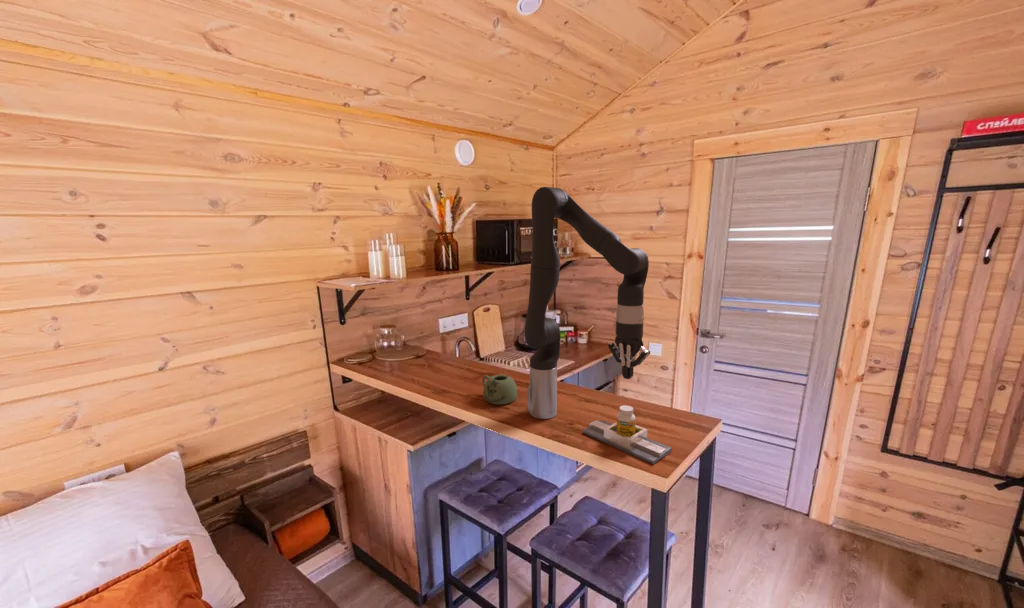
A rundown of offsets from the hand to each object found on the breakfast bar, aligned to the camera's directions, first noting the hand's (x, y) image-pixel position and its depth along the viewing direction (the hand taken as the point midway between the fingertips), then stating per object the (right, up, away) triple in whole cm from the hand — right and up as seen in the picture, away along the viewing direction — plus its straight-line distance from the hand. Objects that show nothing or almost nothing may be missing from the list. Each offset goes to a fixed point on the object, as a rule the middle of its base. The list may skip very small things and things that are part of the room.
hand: (627, 378), depth 120 cm
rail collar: (0, -20, +4) cm, 20 cm away
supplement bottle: (0, -19, +4) cm, 19 cm away
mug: (-39, -14, +37) cm, 55 cm away
